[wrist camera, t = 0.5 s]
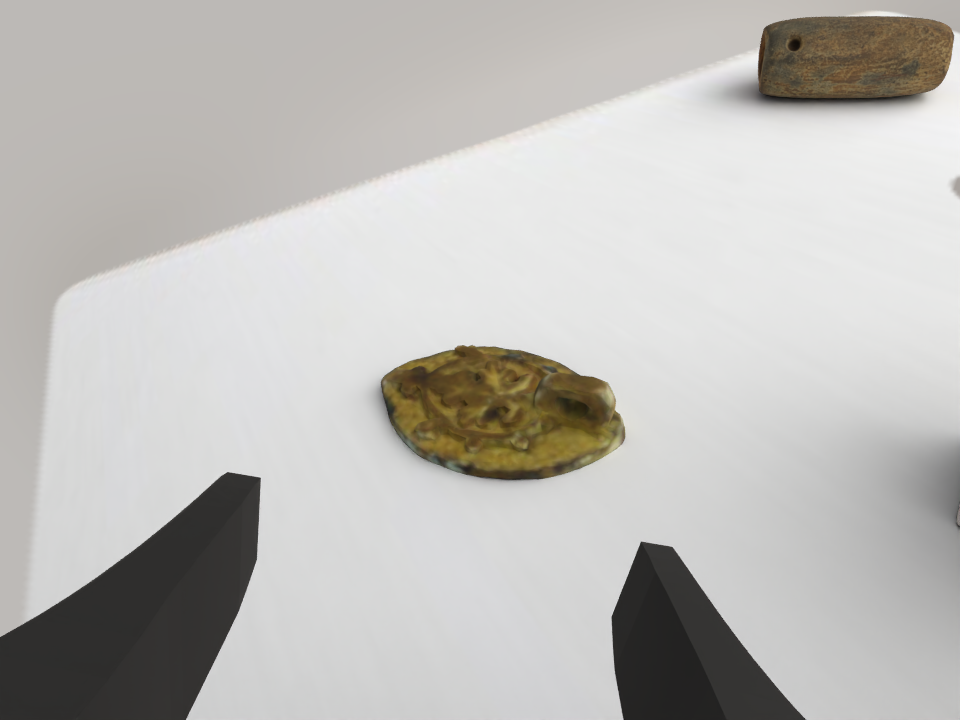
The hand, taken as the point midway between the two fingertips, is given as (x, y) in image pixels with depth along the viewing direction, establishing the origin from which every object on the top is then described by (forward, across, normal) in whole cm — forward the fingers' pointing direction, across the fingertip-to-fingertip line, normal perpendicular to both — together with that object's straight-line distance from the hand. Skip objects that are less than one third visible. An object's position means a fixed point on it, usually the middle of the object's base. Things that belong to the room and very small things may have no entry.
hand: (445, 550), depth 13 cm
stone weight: (+59, -31, -6) cm, 67 cm away
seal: (+25, -3, +13) cm, 28 cm away
